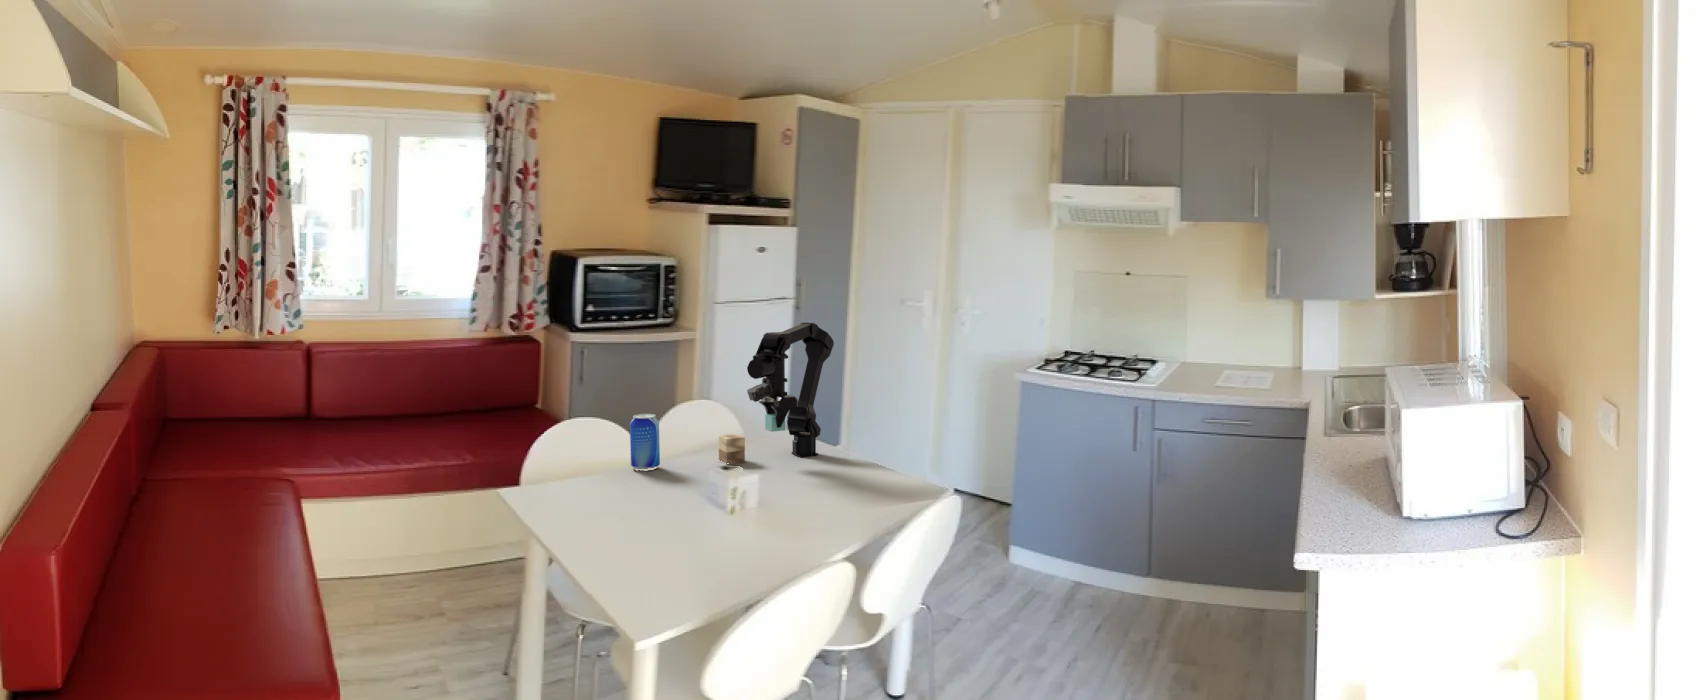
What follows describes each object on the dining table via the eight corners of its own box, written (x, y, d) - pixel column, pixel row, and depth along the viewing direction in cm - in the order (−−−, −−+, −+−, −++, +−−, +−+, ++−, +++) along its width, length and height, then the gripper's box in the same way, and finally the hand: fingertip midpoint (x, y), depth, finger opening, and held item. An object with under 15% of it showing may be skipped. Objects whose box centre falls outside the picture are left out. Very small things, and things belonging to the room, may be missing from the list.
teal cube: (778, 427, 311) (778, 413, 311) (785, 430, 307) (785, 415, 307) (765, 429, 309) (765, 414, 308) (771, 431, 305) (771, 416, 304)
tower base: (736, 459, 317) (736, 446, 317) (744, 463, 312) (744, 450, 312) (718, 461, 314) (718, 448, 314) (726, 465, 309) (726, 452, 309)
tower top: (737, 446, 317) (737, 433, 316) (744, 450, 311) (744, 437, 311) (719, 448, 314) (718, 435, 313) (726, 452, 309) (726, 439, 308)
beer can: (663, 466, 307) (662, 413, 305) (655, 472, 299) (654, 418, 297) (636, 465, 308) (634, 412, 306) (627, 471, 300) (625, 417, 298)
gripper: (737, 372, 310) (738, 423, 312) (764, 380, 294) (764, 434, 296) (771, 370, 316) (771, 420, 317) (798, 378, 300) (798, 430, 301)
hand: (775, 426), depth 308 cm, fingers closed on teal cube, 4 cm apart
